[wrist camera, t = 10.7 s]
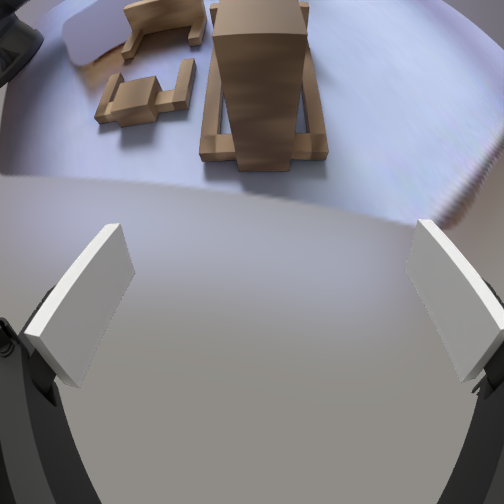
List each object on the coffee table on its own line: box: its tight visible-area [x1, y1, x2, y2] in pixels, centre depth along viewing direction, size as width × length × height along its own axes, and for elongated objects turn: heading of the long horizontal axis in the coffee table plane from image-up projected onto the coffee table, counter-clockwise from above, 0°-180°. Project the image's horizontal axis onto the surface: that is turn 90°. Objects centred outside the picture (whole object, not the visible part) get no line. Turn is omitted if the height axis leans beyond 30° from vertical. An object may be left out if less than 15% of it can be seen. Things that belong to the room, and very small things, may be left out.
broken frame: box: [94, 0, 207, 127], centre depth 21 cm, size 9×17×5 cm, turn 0°
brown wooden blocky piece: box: [199, 0, 328, 172], centre depth 16 cm, size 9×17×12 cm, turn 0°
